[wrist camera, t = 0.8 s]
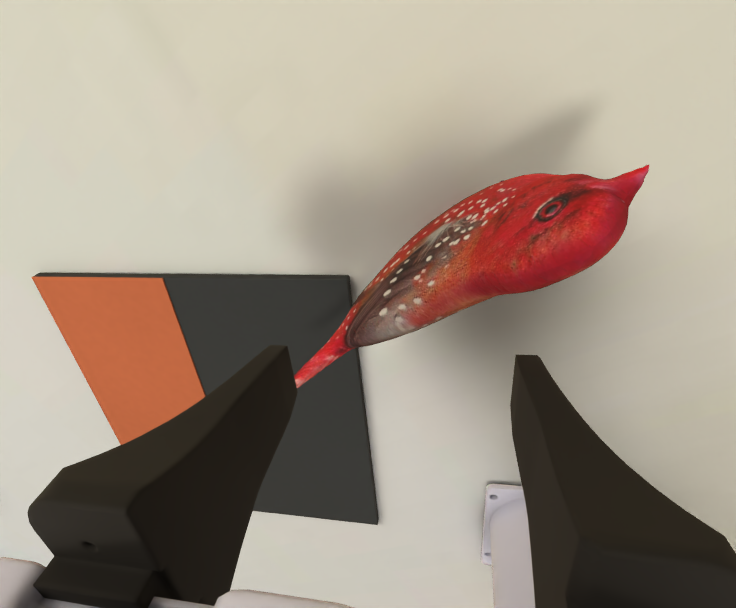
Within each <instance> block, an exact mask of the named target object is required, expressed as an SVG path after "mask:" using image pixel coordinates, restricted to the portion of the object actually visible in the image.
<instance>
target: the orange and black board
mask: <svg viewBox="0 0 736 608" xmlns="http://www.w3.org/2000/svg"><path fill="white" fill-rule="evenodd" d="M32 279H33V281H34V283H35V284H36V286H37V288H38V290H39V292H40V294H41V296H42V298H43V300H44V301H45V303H46V305H47V307H48V309H49V311H50V313H51V315H52V316H53V318H54V320H55V322H56V324H57V326H58V328H59V330H60V331H61V333H62V335H63V337H64V339H65V341H66V343H67V345H68V346H69V348H70V350H71V352H72V354H73V356H74V358H75V360H76V361H77V363H78V365H79V367H80V369H81V371H82V373H83V375H84V376H85V378H86V380H87V382H88V384H89V386H90V388H91V390H92V391H93V393H94V395H95V397H96V399H97V401H98V403H99V405H100V406H101V408H102V410H103V412H104V414H105V416H106V418H107V420H108V421H109V423H110V425H111V427H112V429H113V431H114V433H115V435H116V437H117V438H118V440H119V442H120V444H121V445H122V444H125V443H127V442H129V441H131V440H133V439H135V438H137V437H139V436H141V435H143V434H145V433H147V432H149V431H151V430H152V429H154V428H156V427H158V426H160V425H162V424H163V423H165V422H167V421H169V420H171V419H172V418H174V417H176V416H177V415H179V414H180V413H182V412H183V411H185V410H187V409H188V408H190V407H191V406H193V405H194V404H196V403H197V402H199V401H200V400H201V399H203V398H204V397H205V396H207V395H208V394H209V393H211V392H212V391H213V390H215V389H216V388H217V387H219V386H220V385H221V384H223V383H224V382H225V381H227V380H228V379H229V378H230V377H232V376H233V375H234V374H235V373H236V372H238V371H239V370H240V369H241V368H243V367H244V366H245V365H246V364H247V363H248V362H250V361H251V360H252V359H253V358H254V357H256V356H257V355H258V354H259V353H260V352H262V351H263V350H264V349H265V348H267V347H268V346H269V345H284V346H288V351H289V355H290V360H291V364H292V369H293V373H294V375H295V374H296V373H297V372H298V371H299V370H300V369H301V368H302V367H303V366H304V365H305V364H306V363H307V362H308V361H309V360H310V359H311V358H312V357H313V356H314V355H315V354H316V353H317V352H318V351H319V350H320V349H321V348H322V347H323V346H324V345H325V344H326V343H327V342H328V340H329V339H330V338H331V337H332V336H333V335H334V333H335V332H336V331H337V330H338V328H339V327H340V325H341V324H342V322H343V320H344V319H345V317H346V316H347V314H348V312H349V310H350V309H351V307H352V305H353V304H352V296H351V288H350V280H349V276H347V275H224V274H101V273H38V274H37V275H35V276H34V277H32ZM297 392H298V393H297V397H296V400H295V404H294V408H293V411H292V414H291V418H290V421H289V423H288V425H287V428H286V430H285V432H284V434H283V437H282V439H281V441H280V443H279V446H278V448H277V450H276V452H275V455H274V457H273V459H272V461H271V464H270V466H269V468H268V470H267V472H266V475H265V477H264V479H263V482H262V484H261V487H260V489H259V492H258V495H257V498H256V501H255V504H254V508H253V511H261V512H269V513H278V514H287V515H296V516H304V517H313V518H322V519H331V520H339V521H348V522H357V523H365V524H374V525H378V520H379V519H378V511H377V502H376V494H375V486H374V478H373V469H372V461H371V453H370V445H369V436H368V428H367V420H366V412H365V403H364V395H363V387H362V379H361V370H360V362H359V354H358V348H354V349H351V350H350V351H348V352H346V353H345V354H343V355H342V356H341V357H339V358H337V359H336V360H335V361H333V362H332V363H331V364H330V365H328V366H327V367H325V368H324V369H323V370H322V371H320V372H318V373H317V374H316V375H315V376H314V377H312V378H310V379H309V380H308V381H306V382H305V383H304V384H302V385H301V386H300V387H298V388H297Z"/></svg>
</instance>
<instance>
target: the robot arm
mask: <svg viewBox="0 0 736 608" xmlns="http://www.w3.org/2000/svg"><path fill="white" fill-rule="evenodd" d="M297 393H298V392H297V387H296V382H295V378H294V373H293V369H292V364H291V360H290V355H289V351H288V346H284V345H269V346H268V347H267V348H265V349H264V350H263V351H262V352H260V353H259V354H258V355H257V356H256V357H254V358H253V359H252V360H251V361H250V362H248V363H247V364H246V365H245V366H244V367H243V368H241V369H240V370H239V371H238V372H236V373H235V374H234V375H233V376H232V377H230V378H229V379H228V380H227V381H225V382H224V383H223V384H221V385H220V386H219V387H217V388H216V389H215V390H213V391H212V392H211V393H209V394H208V395H207V396H205V397H204V398H203V399H201V400H200V401H199V402H197V403H196V404H194V405H193V406H191V407H190V408H188V409H187V410H185V411H183V412H182V413H180V414H179V415H177V416H176V417H174V418H172V419H171V420H169V421H167V422H165V423H163V424H162V425H160V426H158V427H156V428H154V429H152V430H151V431H149V432H147V433H145V434H143V435H141V436H139V437H137V438H135V439H133V440H131V441H129V442H127V443H125V444H122V445H120V446H118V447H116V448H113V449H111V450H109V451H107V452H104V453H102V454H99V455H97V456H94V457H91V458H89V459H86V460H84V461H81V462H78V463H76V464H73V465H70V466H67V467H65V468H63V469H62V470H61V471H60V472H59V473H58V474H57V476H56V477H55V478H54V479H53V480H52V481H51V482H50V484H49V485H48V486H47V487H46V488H45V489H44V490H43V492H42V493H41V494H40V495H39V496H38V497H37V498H36V499H35V501H34V502H33V503H32V504H31V505H30V506H29V509H28V518H29V522H30V524H31V526H32V527H33V529H34V530H35V532H36V533H37V534H38V535H39V537H40V538H41V539H42V541H43V542H44V543H45V544H46V546H47V547H48V548H49V549H50V551H51V552H52V553H53V554H54V558H53V559H52V560H51V562H50V563H49V564H48V566H47V567H44V566H43V565H41V564H39V563H36V562H32V561H26V560H19V559H13V558H6V557H1V558H0V608H354V607H350V606H347V605H343V604H340V603H334V602H328V601H321V600H314V599H308V598H301V597H294V596H288V595H281V594H274V593H268V592H261V591H254V590H231V591H230V588H231V584H232V580H233V576H234V572H235V569H236V565H237V561H238V558H239V554H240V550H241V547H242V543H243V540H244V537H245V533H246V530H247V527H248V523H249V520H250V517H251V514H252V511H253V508H254V504H255V501H256V498H257V495H258V492H259V489H260V487H261V484H262V482H263V479H264V477H265V475H266V472H267V470H268V468H269V466H270V464H271V461H272V459H273V457H274V455H275V452H276V450H277V448H278V446H279V443H280V441H281V439H282V437H283V434H284V432H285V430H286V428H287V425H288V423H289V421H290V418H291V414H292V411H293V408H294V404H295V400H296V397H297ZM510 406H511V421H512V435H513V441H514V446H515V451H516V457H517V462H518V467H519V472H520V477H521V482H522V486H516V485H505V484H489V485H487V487H486V497H485V510H484V523H483V536H482V548H481V562H482V563H483V564H486V565H492V578H493V597H494V608H736V553H735V552H734V550H733V549H732V547H731V546H730V544H729V542H728V541H727V539H726V537H725V536H723V535H722V534H720V533H719V532H717V531H716V530H714V529H713V528H711V527H710V526H708V525H707V524H705V523H704V522H702V521H700V520H699V519H697V518H696V517H694V516H693V515H691V514H690V513H688V512H687V511H685V510H684V509H682V508H681V507H680V506H678V505H677V504H676V503H674V502H673V501H671V500H670V499H669V498H667V497H666V496H665V495H663V494H662V493H661V492H659V491H658V490H657V489H656V488H654V487H653V486H652V485H650V484H649V483H648V482H647V481H646V480H645V479H643V478H642V477H641V476H640V475H639V474H637V473H636V472H635V471H634V470H633V469H631V468H630V467H629V466H628V465H627V464H626V463H625V462H624V461H623V460H621V459H620V458H619V457H618V456H617V455H616V454H615V453H614V452H613V451H612V450H611V449H610V448H609V447H608V446H607V445H606V444H605V443H604V442H603V441H602V440H601V439H600V438H599V437H598V435H597V434H596V433H595V432H594V431H593V430H592V429H591V428H590V427H589V425H588V424H587V423H586V422H585V421H584V420H583V418H582V417H581V416H580V415H579V413H578V412H577V411H576V410H575V409H574V407H573V406H572V405H571V403H570V402H569V401H568V399H567V398H566V397H565V395H564V394H563V393H562V391H561V390H560V388H559V387H558V385H557V384H556V383H555V381H554V380H553V378H552V377H551V375H550V373H549V372H548V370H547V369H546V367H545V365H544V364H543V362H542V360H541V359H540V358H539V357H538V356H537V355H516V357H515V367H514V376H513V386H512V395H511V405H510Z"/></svg>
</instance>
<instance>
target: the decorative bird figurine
mask: <svg viewBox="0 0 736 608" xmlns="http://www.w3.org/2000/svg"><path fill="white" fill-rule="evenodd" d="M648 169H649V165H646V166H645V167H643V168H639V169H636V170H634V171H631V172H628V173H625V174H622V175H620V176H618V177H615V178H612V179H606V180H604V179H597V178H594V177H591V176H588V175H584V174H569V175H552V174H544V173H541V174H529V175H522V176H518V177H515V178H511V179H508V180H505V181H504V180H503V181H501V182H499V183H497V184H494V185H491V186H489V187H487V188H485V189H483V190H481V191H479V192H477V193H475V194H473V195H471V196H470V197H468V198H466V199H464V200H462V201H461V202H459V203H457V204H456V205H454V206H453V207H451V208H450V209H448V210H447V211H445V212H444V213H443V214H441V215H440V216H438V217H437V218H436V219H434V220H433V221H431V222H430V223H429V224H428V225H426V226H425V227H424V228H423V229H421V230H420V231H419V232H418V233H417V234H416V235H415V236H413V237H412V238H411V239H410V240H409V241H408V242H407V243H406V244H405V245H404V246H403V247H402V248H401V249H400V250H399V251H398V252H397V253H396V254H395V255H394V256H393V257H392V258H391V260H390V261H389V262H388V263H387V264H386V265H385V266H384V268H383V269H382V270H381V271H380V272H379V273H378V275H377V276H376V277H375V278H374V279H373V280H372V281H371V282H370V283H369V285H368V286H367V287H366V288H365V289H364V290H363V291H362V293H361V294H360V295H359V296H358V298H357V299H356V301H355V302H354V304H353V305H352V307H351V309H350V310H349V312H348V314H347V316H346V317H345V319H344V320H343V322H342V324H341V325H340V327H339V328H338V330H337V331H336V332H335V333H334V335H333V336H332V337H331V338H330V339H329V340H328V342H327V343H326V344H325V345H324V346H323V347H322V348H321V349H320V350H319V351H318V352H317V353H316V354H315V355H314V356H313V357H312V358H311V359H310V360H309V361H308V362H307V363H306V364H305V365H304V366H303V367H302V368H301V369H300V370H299V371H298V372H297V373H296V374H295V375H294V378H295V382H296V387H297V388H298V387H300V386H301V385H302V384H304V383H305V382H306V381H308V380H309V379H310V378H312V377H314V376H315V375H316V374H317V373H318V372H320V371H322V370H323V369H324V368H325V367H327V366H328V365H330V364H331V363H332V362H333V361H335V360H336V359H337V358H339V357H341V356H342V355H343V354H345V353H346V352H348V351H350V350H351V349H354V348H358V347H363V346H369V345H373V344H377V343H380V342H384V341H387V340H391V339H394V338H397V337H399V336H402V335H405V334H408V333H411V332H414V331H416V330H419V329H421V328H424V327H426V326H428V325H430V324H433V323H435V322H437V321H439V320H442V319H444V318H446V317H448V316H450V315H452V314H454V313H457V312H459V311H461V310H463V309H466V308H468V307H470V306H473V305H475V304H477V303H480V302H482V301H485V300H487V299H490V298H492V297H495V296H498V295H504V294H514V293H523V292H528V291H534V290H537V289H541V288H543V287H546V286H549V285H551V284H554V283H556V282H559V281H561V280H564V279H566V278H568V277H570V276H573V275H575V274H577V273H579V272H581V271H583V270H585V269H587V268H588V267H590V266H592V265H593V264H595V263H596V262H597V261H599V260H600V259H601V258H602V257H604V256H605V255H606V254H607V253H608V252H609V251H610V250H611V249H612V248H613V247H614V246H615V244H616V243H617V242H618V241H619V239H620V237H621V236H622V234H623V232H624V230H625V227H626V225H627V219H628V207H629V205H630V203H631V201H632V200H633V198H634V196H635V194H636V193H637V191H638V190H639V189H640V187H641V186H642V184H643V182H644V178H645V176H646V174H647V173H648Z"/></svg>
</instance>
